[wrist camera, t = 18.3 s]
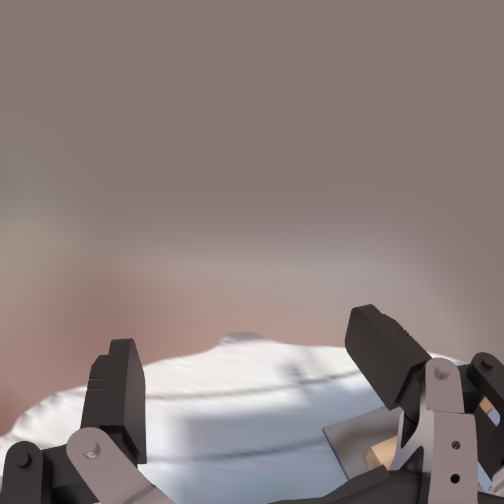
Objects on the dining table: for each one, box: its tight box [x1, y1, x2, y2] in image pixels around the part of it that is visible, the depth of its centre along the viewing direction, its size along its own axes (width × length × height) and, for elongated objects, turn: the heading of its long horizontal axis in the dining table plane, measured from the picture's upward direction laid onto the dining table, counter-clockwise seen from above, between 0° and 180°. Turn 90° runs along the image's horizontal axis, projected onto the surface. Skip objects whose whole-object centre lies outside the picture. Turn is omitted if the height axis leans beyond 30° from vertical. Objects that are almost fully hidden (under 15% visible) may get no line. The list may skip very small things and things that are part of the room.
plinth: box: [323, 406, 485, 493], centre depth 26 cm, size 24×16×4 cm, turn 14°
